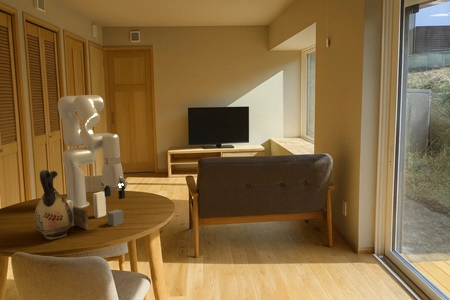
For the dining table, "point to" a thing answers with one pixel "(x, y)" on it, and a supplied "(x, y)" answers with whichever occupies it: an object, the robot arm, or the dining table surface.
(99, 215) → the wall
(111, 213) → the block
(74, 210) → the door
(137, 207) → the dining table surface
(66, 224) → the ceramic jug
